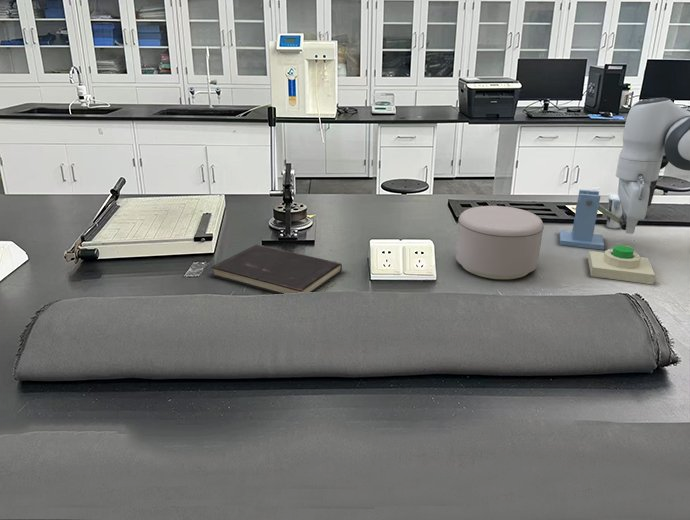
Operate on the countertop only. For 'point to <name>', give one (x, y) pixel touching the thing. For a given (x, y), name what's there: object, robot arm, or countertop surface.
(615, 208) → the milkshake
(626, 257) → the light button
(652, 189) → the microphone
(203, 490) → the countertop surface
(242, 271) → the hardcover book
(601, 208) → the light lever
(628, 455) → the countertop surface
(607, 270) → the switch block
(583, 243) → the lever bracket
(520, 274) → the container
